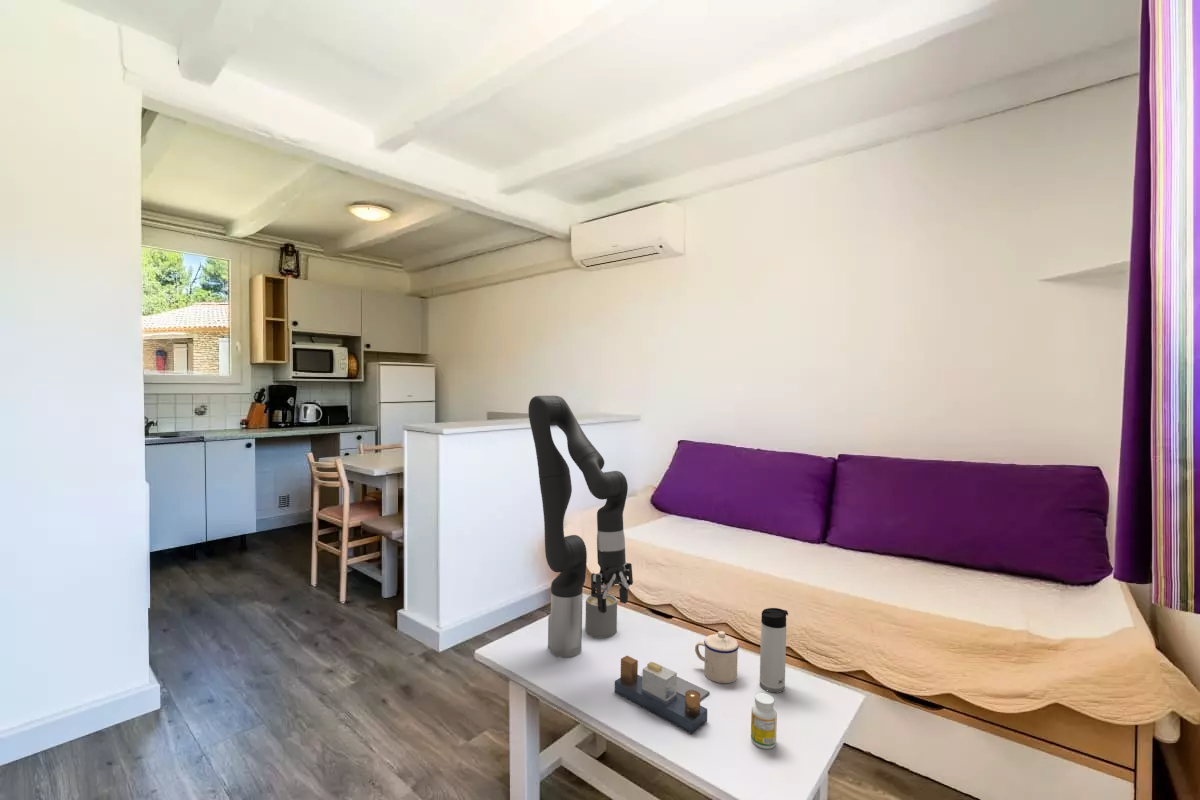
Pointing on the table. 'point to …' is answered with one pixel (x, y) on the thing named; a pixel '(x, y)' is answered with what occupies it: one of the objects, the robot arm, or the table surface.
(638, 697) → the hand plane
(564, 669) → the table surface
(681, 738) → the table surface
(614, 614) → the coffee mug
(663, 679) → the lever cap
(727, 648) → the teacup with lid
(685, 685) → the rubber mat
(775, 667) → the travel mug
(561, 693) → the table surface
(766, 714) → the supplement bottle
